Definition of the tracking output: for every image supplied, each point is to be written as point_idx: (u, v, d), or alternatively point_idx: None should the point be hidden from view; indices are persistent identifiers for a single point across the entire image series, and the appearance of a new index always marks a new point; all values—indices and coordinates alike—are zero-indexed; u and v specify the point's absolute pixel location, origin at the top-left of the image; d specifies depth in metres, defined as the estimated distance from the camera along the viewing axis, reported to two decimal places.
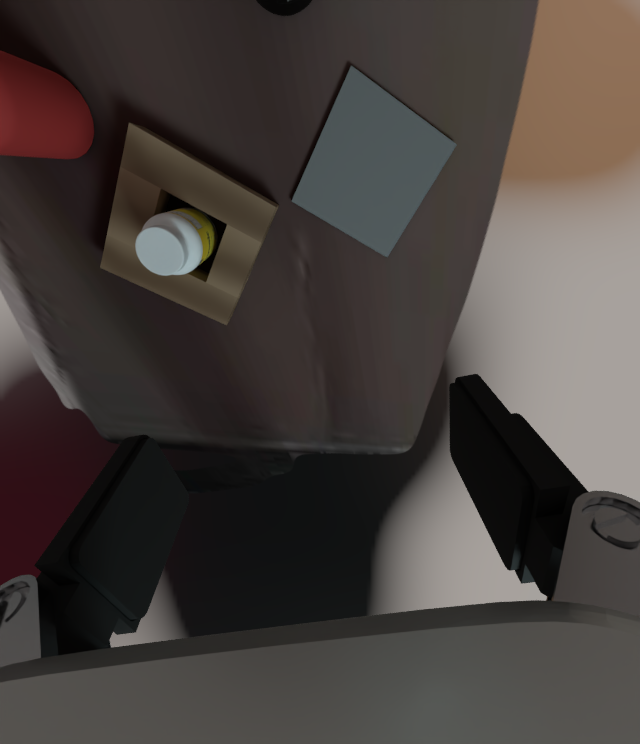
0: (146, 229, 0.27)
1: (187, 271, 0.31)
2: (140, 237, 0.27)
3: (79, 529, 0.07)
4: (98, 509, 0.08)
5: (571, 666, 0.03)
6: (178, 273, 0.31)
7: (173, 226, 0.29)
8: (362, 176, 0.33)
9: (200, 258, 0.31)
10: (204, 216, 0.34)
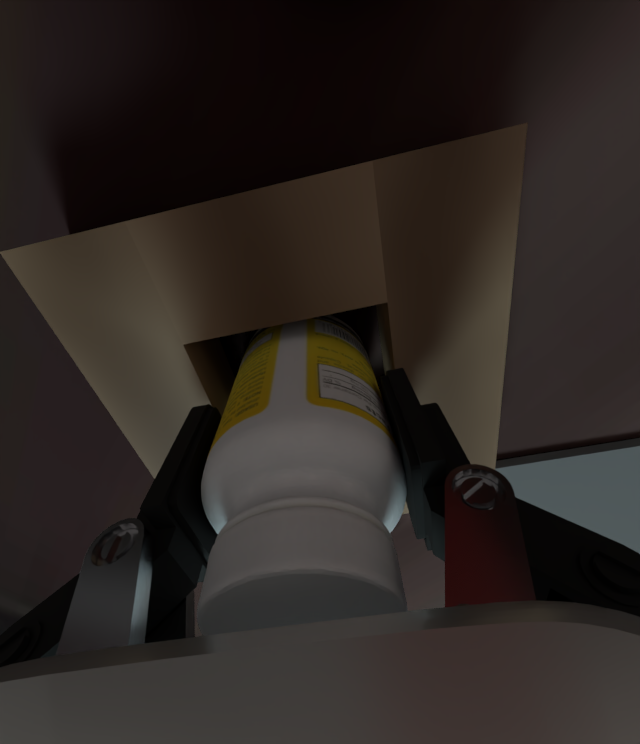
0: (359, 578, 0.05)
1: None
2: (304, 576, 0.05)
3: (172, 479, 0.08)
4: (184, 464, 0.08)
5: (571, 666, 0.03)
6: None
7: (382, 510, 0.08)
8: (575, 516, 0.20)
9: None
10: None
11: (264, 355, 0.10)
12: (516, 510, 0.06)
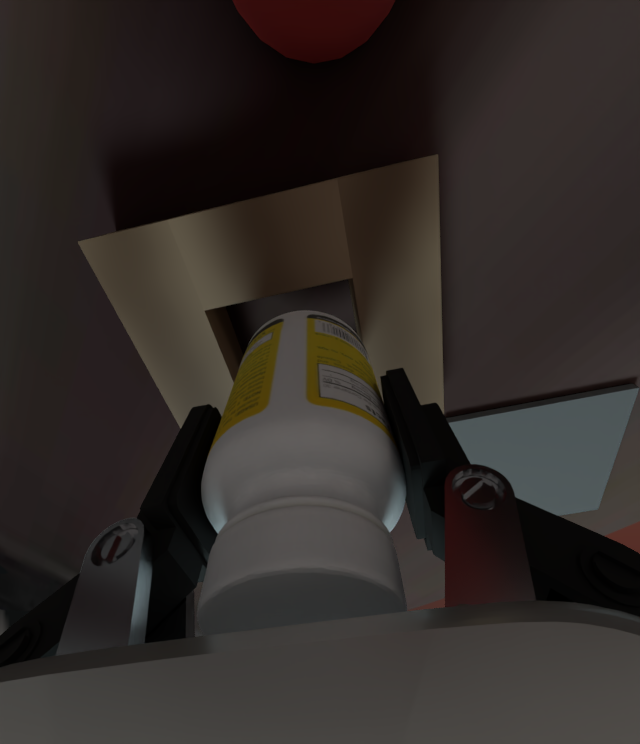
0: (358, 577, 0.05)
1: None
2: (304, 575, 0.05)
3: (172, 479, 0.08)
4: (184, 464, 0.08)
5: (571, 666, 0.03)
6: None
7: (381, 509, 0.08)
8: (522, 465, 0.24)
9: None
10: None
11: (264, 355, 0.10)
12: (515, 510, 0.06)
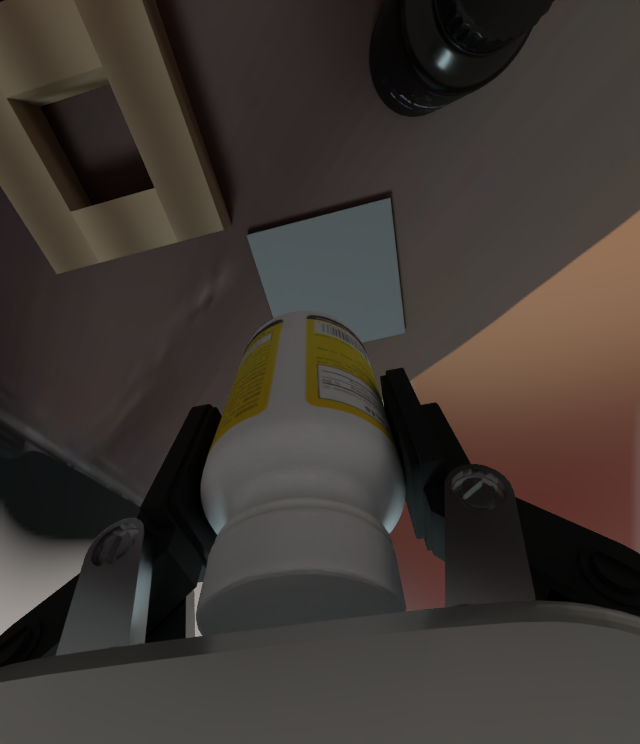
0: (357, 579, 0.05)
1: None
2: (303, 577, 0.05)
3: (172, 479, 0.08)
4: (184, 464, 0.08)
5: (571, 666, 0.03)
6: None
7: (381, 511, 0.08)
8: (323, 282, 0.29)
9: None
10: None
11: (263, 356, 0.10)
12: (515, 510, 0.06)
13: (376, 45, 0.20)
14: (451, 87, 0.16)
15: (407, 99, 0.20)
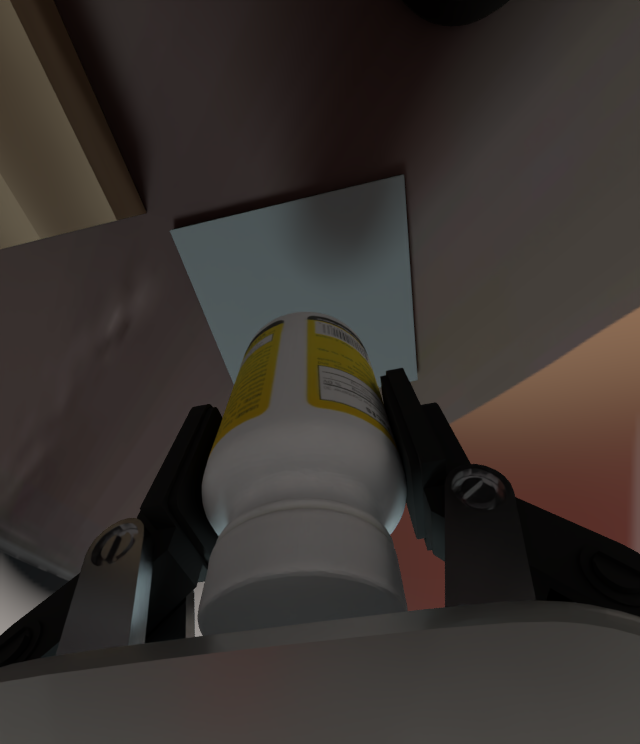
0: (359, 580, 0.05)
1: None
2: (305, 578, 0.05)
3: (172, 479, 0.08)
4: (184, 464, 0.08)
5: (572, 667, 0.03)
6: None
7: (381, 511, 0.08)
8: (296, 306, 0.19)
9: None
10: None
11: (264, 357, 0.10)
12: (515, 510, 0.06)
13: None
14: None
15: None
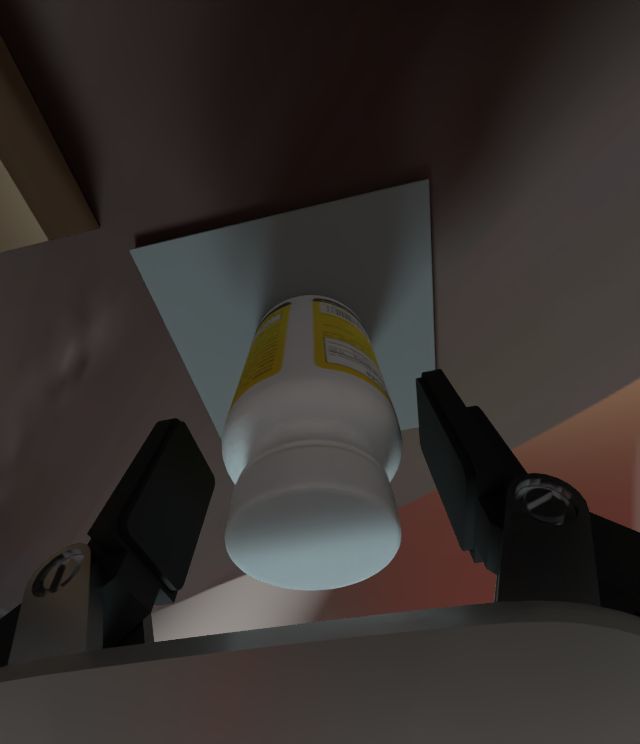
0: (361, 497, 0.07)
1: None
2: (316, 495, 0.06)
3: (125, 501, 0.08)
4: (140, 484, 0.08)
5: (571, 666, 0.03)
6: None
7: (380, 459, 0.09)
8: None
9: None
10: None
11: (275, 332, 0.11)
12: (588, 531, 0.05)
13: None
14: None
15: None
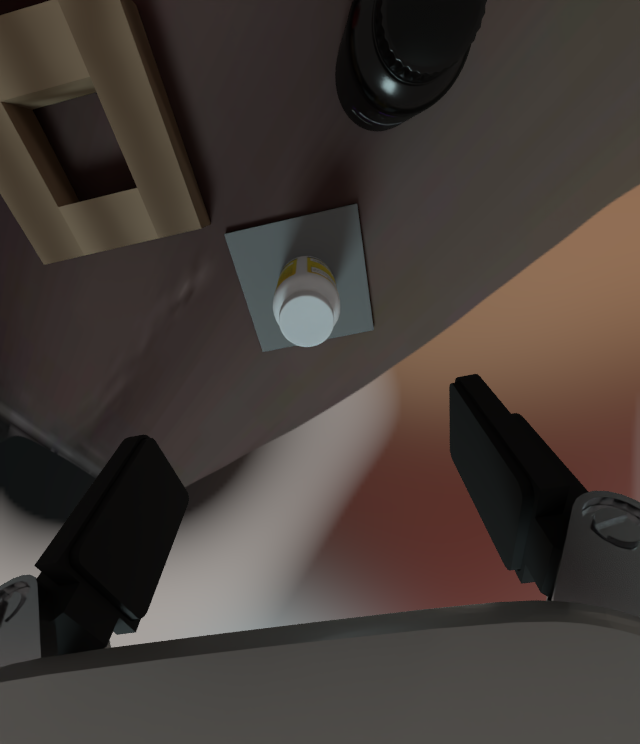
0: (320, 300, 0.23)
1: None
2: (307, 298, 0.23)
3: (79, 529, 0.07)
4: (98, 509, 0.08)
5: (571, 666, 0.03)
6: None
7: (330, 305, 0.25)
8: None
9: None
10: None
11: (291, 267, 0.28)
12: None
13: (338, 67, 0.22)
14: (397, 109, 0.19)
15: (365, 116, 0.22)
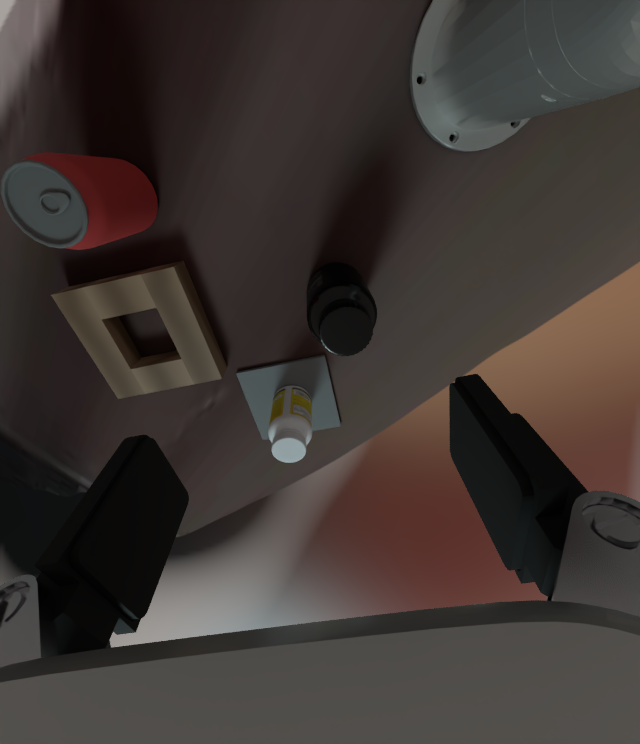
0: (296, 440, 0.37)
1: None
2: (288, 439, 0.37)
3: (79, 529, 0.07)
4: (98, 509, 0.08)
5: (571, 666, 0.03)
6: None
7: (304, 434, 0.39)
8: None
9: None
10: None
11: (280, 401, 0.42)
12: None
13: None
14: None
15: None
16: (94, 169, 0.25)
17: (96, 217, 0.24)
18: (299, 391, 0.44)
